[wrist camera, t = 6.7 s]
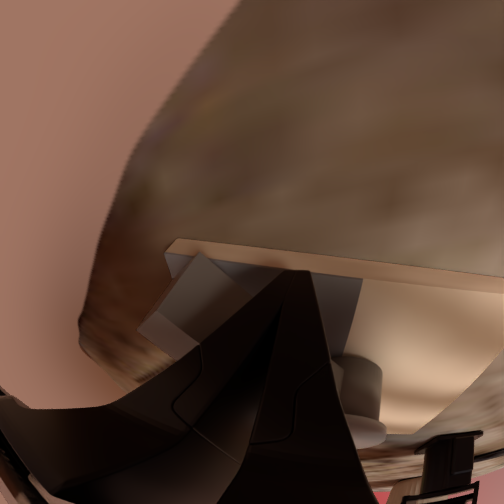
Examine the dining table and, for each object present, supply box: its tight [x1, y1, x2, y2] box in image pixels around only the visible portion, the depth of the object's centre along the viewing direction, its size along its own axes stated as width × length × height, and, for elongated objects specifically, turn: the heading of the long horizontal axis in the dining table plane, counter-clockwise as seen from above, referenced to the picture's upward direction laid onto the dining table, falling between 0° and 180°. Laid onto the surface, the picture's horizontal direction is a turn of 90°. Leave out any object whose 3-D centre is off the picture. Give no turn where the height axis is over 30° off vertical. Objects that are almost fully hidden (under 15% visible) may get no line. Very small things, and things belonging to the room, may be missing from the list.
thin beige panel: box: [164, 238, 504, 434], centre depth 13 cm, size 16×16×1 cm
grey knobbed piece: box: [136, 252, 387, 449], centre depth 11 cm, size 11×9×3 cm
